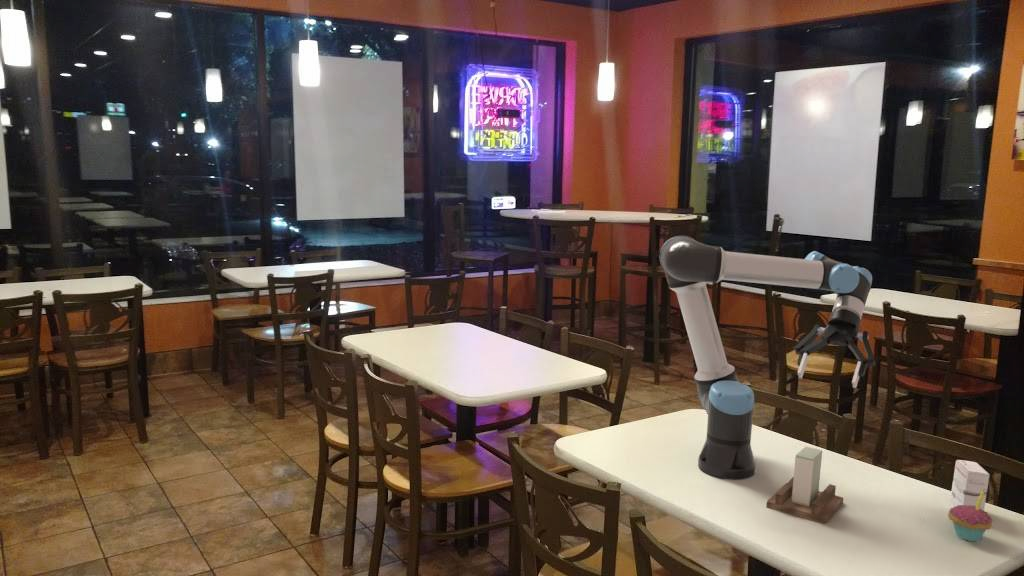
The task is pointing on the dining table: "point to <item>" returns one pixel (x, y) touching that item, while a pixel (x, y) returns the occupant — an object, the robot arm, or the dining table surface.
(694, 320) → the robot arm
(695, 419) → the dining table surface
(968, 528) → the cupcake
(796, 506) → the walnut rack
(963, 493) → the white rectangular block
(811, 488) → the sage box
